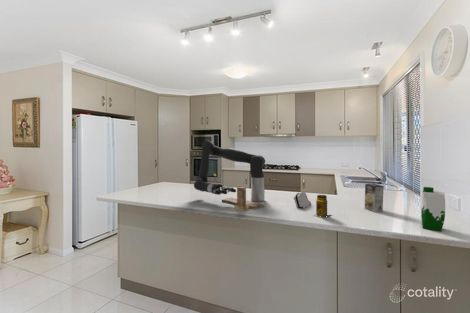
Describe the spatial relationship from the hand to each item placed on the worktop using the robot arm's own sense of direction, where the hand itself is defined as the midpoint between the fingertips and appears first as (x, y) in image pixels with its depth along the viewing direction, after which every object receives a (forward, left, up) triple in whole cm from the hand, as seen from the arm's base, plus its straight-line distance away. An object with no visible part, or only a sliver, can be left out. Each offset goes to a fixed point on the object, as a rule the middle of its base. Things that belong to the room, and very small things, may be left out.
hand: (231, 191), depth 167 cm
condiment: (-22, +53, -10) cm, 59 cm away
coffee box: (-55, +71, -10) cm, 91 cm away
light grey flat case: (-35, +33, -10) cm, 49 cm away
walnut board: (-10, 0, -10) cm, 14 cm away
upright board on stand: (0, +9, -10) cm, 14 cm away
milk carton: (-38, +102, -10) cm, 110 cm away
